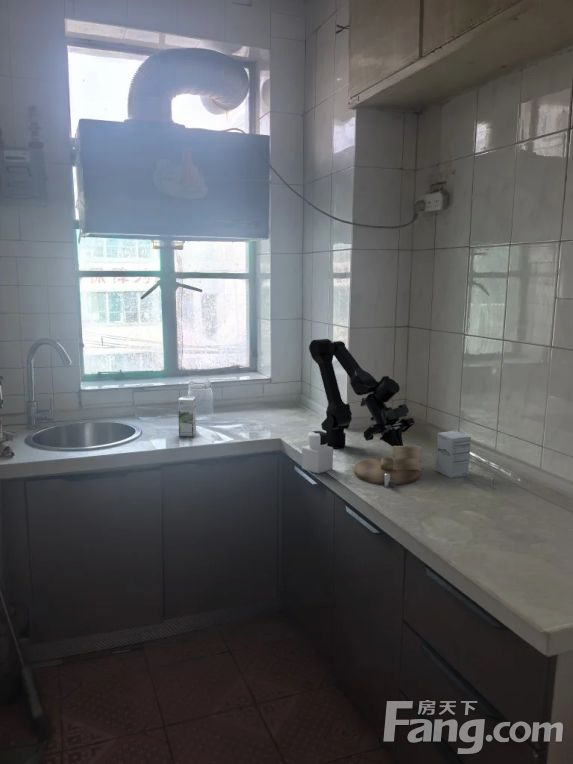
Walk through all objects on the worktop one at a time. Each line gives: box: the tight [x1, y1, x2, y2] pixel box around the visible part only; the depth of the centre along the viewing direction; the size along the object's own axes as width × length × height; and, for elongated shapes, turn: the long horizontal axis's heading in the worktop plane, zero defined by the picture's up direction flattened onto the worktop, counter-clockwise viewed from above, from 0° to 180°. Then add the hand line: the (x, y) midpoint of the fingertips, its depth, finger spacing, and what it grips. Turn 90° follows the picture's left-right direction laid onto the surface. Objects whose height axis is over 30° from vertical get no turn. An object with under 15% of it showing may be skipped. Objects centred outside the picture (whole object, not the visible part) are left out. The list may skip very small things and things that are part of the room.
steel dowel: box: [383, 473, 390, 489], centre depth 177 cm, size 2×2×4 cm
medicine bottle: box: [301, 430, 334, 475], centre depth 192 cm, size 7×7×12 cm
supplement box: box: [435, 430, 472, 479], centre depth 189 cm, size 7×7×13 cm
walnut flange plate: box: [353, 445, 423, 488], centre depth 187 cm, size 20×22×9 cm
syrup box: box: [177, 396, 197, 438], centre depth 229 cm, size 6×6×14 cm
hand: (402, 451), depth 192 cm, fingers closed
